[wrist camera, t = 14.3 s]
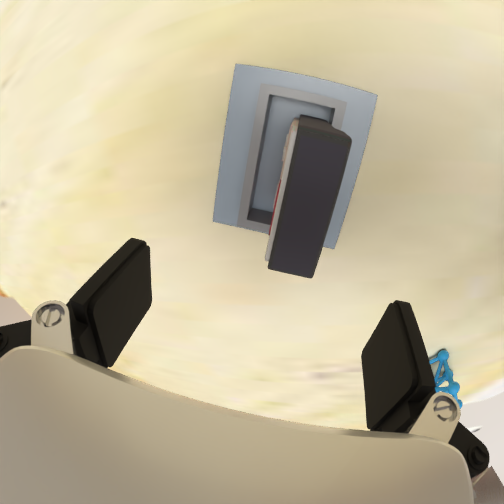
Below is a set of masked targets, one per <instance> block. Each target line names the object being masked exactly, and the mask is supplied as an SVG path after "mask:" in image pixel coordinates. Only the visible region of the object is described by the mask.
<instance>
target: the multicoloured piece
mask: <svg viewBox="0 0 504 504" xmlns="http://www.w3.org/2000/svg"><path fill="white" fill-rule="evenodd" d="M351 144H352V139H351V137H350V136H348V135H347V134H346V133H345V132H343V131H341V130H338V129H335V128H334V127H333V126H332V125H331V124H330V123H329V122H327V121H326V120H324V119H320V118H316V117H312V116H308V115H303V114H301V115H300V118H294V120H293V122H292V124H291V127H290V129H289V134H287V137H286V142H285V147H284V150H283V157H282V161H284V162H283V167H282V171H281V177H280V179H281V180H279V182H278V185H277V190H276V195H275V199H274V204H273V208H274V210H273V215H272V220H271V225H270V229H269V241H268V246H267V250H266V255H265V261H269V263H268V269H271V270H275V271H279V272H284V273H288V274H293V275H297V276H302V277H306V278H312V277H313V275H314V272H315V269H316V266H317V263H318V260H319V257H320V254H321V251H322V247H323V244H324V241H325V238H326V235H327V231H328V228H329V225H330V221H331V218H332V215H333V211H334V208H335V204H336V201H337V197H338V194H339V190H340V186H341V183H342V179H343V175H344V172H345V168H346V164H347V160H348V156H349V153H350V149H351Z"/></svg>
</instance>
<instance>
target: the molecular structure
mask: <svg viewBox="0 0 504 504" xmlns="http://www.w3.org/2000/svg"><path fill="white" fill-rule="evenodd" d="M448 357H449V353H448V352H447V351H446V350H442V351H440V352H439V353H438V356H437V357H436V358H434V359H432V360H430V361H429V362H430V364H432V363H434V362H436V361H438V360H439V361H440V363H439V366H438V369H437V372H436V376H435V379H434V380H435V384H436V387H435V390H436V393H437V392H439V391H442V392H445V393H449V394H451V395H452V396H453V397H454V398H455V399H456V401H457V403H458V404H459V407H460V409H461V407H462V401H461V400H459V399H458V398H457V392H458V391H459V389H460V385H459V384H458V383H457V382H454V381H453V378H452V377H453V372H452V371H451V370H450V369H449V366H448V363H447V359H448ZM443 364H444V368H445V372H444V374H443V376H442V377H440V378H438V377H439V374H440V371H441V368H442V365H443ZM445 380H446V381H448V382H449V385H448V387H438V386H440V385H441V384H442V383H443V382H444V381H445ZM437 382H438V383H437Z"/></svg>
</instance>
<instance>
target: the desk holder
mask: <svg viewBox="0 0 504 504" xmlns="http://www.w3.org/2000/svg"><path fill="white" fill-rule="evenodd" d="M377 96H378V95H376V94H373V93H370V92H367V91H364V90H360V89H357V88H354V87H350V86H347V85H343V84H339V83H336V82H332V81H328V80H324V79H320V78H316V77H311V76H307V75H302V74H297V73H292V72H287V71H281V70H276V69H270V68H263V67H257V66H249V65H241V64H236V65H235V70H234V76H233V82H232V88H231V94H230V100H229V106H228V113H227V119H226V126H225V132H224V139H223V146H222V153H221V160H220V167H219V175H218V183H217V190H216V198H215V207H214V215H213V222H217V223H222V224H226V225H231V226H235V227H240V228H244V229H249V230H253V231H258V232H262V233H267V234H269V229H270V225H271V220H272V215H273V210H274V208H273V204H274V199H275V195H276V190H277V185H278V182H279V180H281V179H280V177H281V171H282V167H283V162H284V161H282V157H283V150H284V147H285V142H286V137H287V134H289V129H290V127H291V124H292V122H293V120H294V118H300V115H301V114H303V115H308V116H312V117H316V118H320V119H324V120H326V121H327V122H329V123H330V124H331V125H332V126H333V127H334V128H335V129H338V130H341V131H343V132H345V133H346V134H347V135H348V136H350V137H351V139H352V144H351V149H350V153H349V156H348V160H347V164H346V168H345V172H344V175H343V179H342V183H341V186H340V190H339V194H338V197H337V201H336V204H335V208H334V211H333V215H332V218H331V221H330V225H329V228H328V231H327V235H326V238H325V241H324V244H323V247H327V248H331V249H334V248H335V245H336V242H337V239H338V236H339V233H340V230H341V227H342V224H343V221H344V218H345V214H346V211H347V208H348V205H349V202H350V198H351V195H352V192H353V188H354V185H355V181H356V178H357V174H358V171H359V167H360V164H361V160H362V156H363V153H364V149H365V145H366V141H367V137H368V134H369V130H370V126H371V121H372V117H373V113H374V109H375V104H376V100H377Z"/></svg>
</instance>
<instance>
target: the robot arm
mask: <svg viewBox="0 0 504 504" xmlns="http://www.w3.org/2000/svg"><path fill="white" fill-rule="evenodd" d="M151 303H152V290H151V268H150V247H149V246H147V244H146V242H145V241H143V240H139V239H135V238H131V239H129V240H128V241H127V242H126V243H125V244H124V245H123V246H122V247H121V248H120V249H119V250H118V251H117V252H116V253H115V254H114V255H113V256H112V257H110V258H109V259H108V260H107V261H106V262H105V263H104V264H103V265H102V266H101V267H100V268H99V269H98V270H97V271H96V272H95V273H94V275H93V276H92V277H91V278H90V279H89V280H88V281H87V282H86V283H85V284H84V285H83V286H82V287H81V288H80V289H79V290H78V291H77V292H76V293H75V294H74V295H73V297H72V298H71V299H70V301H69V302H68V303H67V304H66V305H65V304H64V303H62V302H61V301H56V300H55V301H47V302H44V303H42V304H41V305H39V306H38V307H37V308H36V309H35V310H34V312H33V314H32V320H28V321H23V322H19V323H15V324H10V325H6V326H1V327H0V504H504V486H503V484H502V483H501V481H500V479H499V478H498V476H497V474H496V473H495V471H494V469H493V467H492V466H491V467H489V468H488V464H489V452H488V450H487V448H486V446H485V445H484V444H483V443H482V442H481V441H480V440H479V439H478V438H476V437H475V436H474V435H473V434H472V433H471V432H470V431H469V430H468V429H467V428H465V427H464V426H463V425H462V424H461V423H460V422H459V419H460V415H461V413H460V407H459V404H458V403H457V401H456V399H455V398H454V397H453V396H451V395H450V394H448V393H445V392H437V393H436V390H435V387H436V384H435V380H434V376H433V372H432V369H431V365H430V362H429V358H428V355H427V352H426V349H425V345H424V342H423V339H422V336H421V333H420V330H419V327H418V324H417V321H416V318H415V316H414V313H413V310H412V307H411V305H410V303H408V302H403V301H398V300H396V301H394V303H390V304H389V305H388V307H387V309H386V311H385V313H384V315H383V316H382V318H381V320H380V322H379V323H378V325H377V327H376V329H375V330H374V332H373V334H372V336H371V337H370V339H369V341H368V342H367V344H366V346H365V347H364V349H363V351H362V356H361V359H362V369H363V379H364V391H365V404H366V420H367V428H368V429H370V431H364V430H353V429H342V428H332V427H324V426H316V425H309V424H302V423H296V422H290V421H284V420H279V419H273V418H268V417H263V416H258V415H254V414H249V413H245V412H240V411H236V410H232V409H228V408H224V407H220V406H216V405H213V404H209V403H205V402H202V401H198V400H195V399H192V398H188V397H185V396H182V395H179V394H175V393H172V392H169V391H166V390H163V389H160V388H157V387H155V386H152V385H149V384H146V383H144V382H141V381H138V380H136V379H133V378H130V377H128V376H125V375H123V374H120V373H117V372H115V371H112V370H110V369H107V367H112V366H113V364H114V363H115V361H116V359H117V358H118V356H119V355H120V353H121V351H122V350H123V348H124V347H125V345H126V344H127V342H128V340H129V339H130V337H131V336H132V334H133V333H134V331H135V329H136V328H137V326H138V325H139V323H140V322H141V320H142V319H143V317H144V316H145V314H146V313H147V311H148V310H149V308H150V306H151Z"/></svg>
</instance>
